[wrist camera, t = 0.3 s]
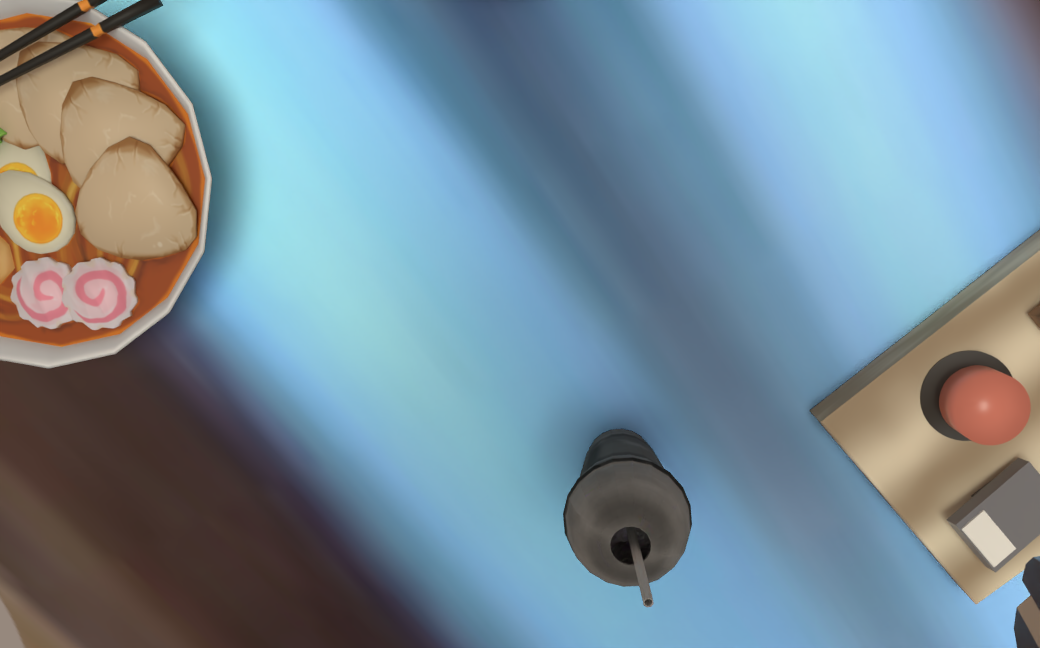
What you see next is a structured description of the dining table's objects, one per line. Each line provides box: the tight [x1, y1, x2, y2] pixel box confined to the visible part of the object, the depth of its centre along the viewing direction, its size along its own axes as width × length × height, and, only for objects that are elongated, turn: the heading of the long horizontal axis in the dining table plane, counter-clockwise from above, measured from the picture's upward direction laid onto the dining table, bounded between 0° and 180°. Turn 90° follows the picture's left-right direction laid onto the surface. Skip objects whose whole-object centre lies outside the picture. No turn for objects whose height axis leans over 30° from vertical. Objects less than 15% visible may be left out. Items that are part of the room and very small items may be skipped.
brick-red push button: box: [939, 365, 1031, 445], centre depth 57 cm, size 4×4×2 cm
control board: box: [810, 230, 1040, 604], centre depth 60 cm, size 16×20×4 cm
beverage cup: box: [563, 429, 692, 607], centre depth 55 cm, size 7×7×20 cm
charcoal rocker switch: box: [946, 458, 1040, 572], centre depth 59 cm, size 4×6×1 cm, turn 131°
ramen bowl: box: [0, 0, 212, 368], centre depth 60 cm, size 25×23×8 cm
